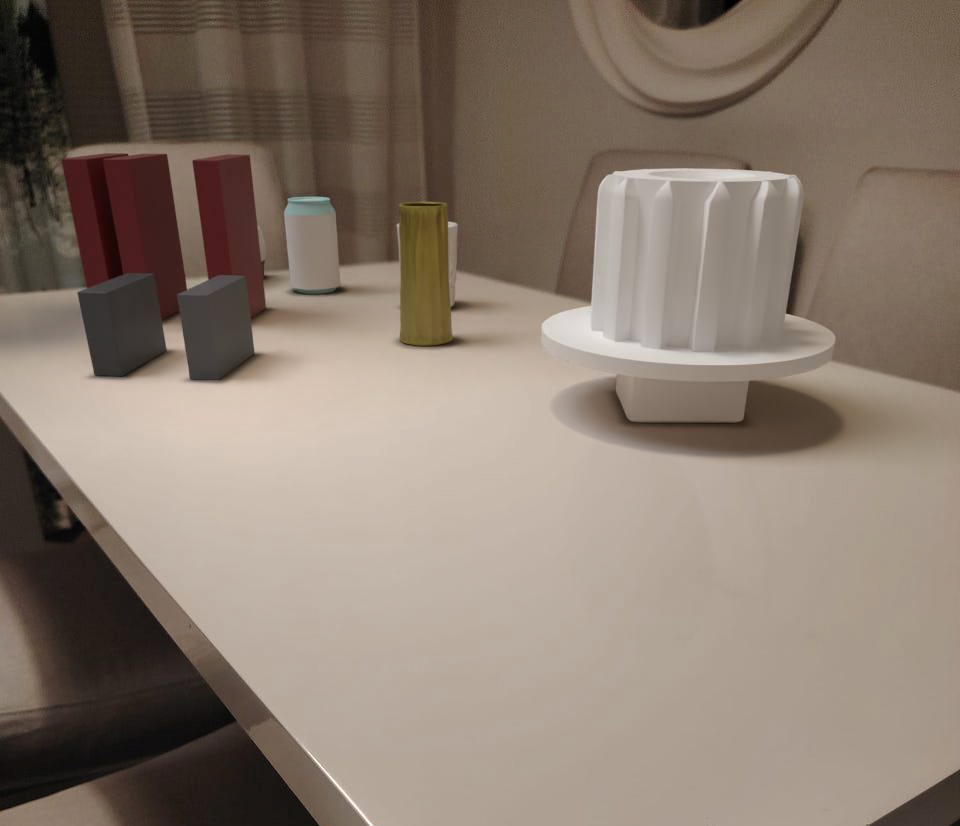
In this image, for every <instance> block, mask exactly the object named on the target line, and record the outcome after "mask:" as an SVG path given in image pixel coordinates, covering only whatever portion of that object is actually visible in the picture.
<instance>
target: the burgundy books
mask: <svg viewBox="0 0 960 826" xmlns="http://www.w3.org/2000/svg"><path fill="white" fill-rule="evenodd" d="M60 161H61V165H62V170H63V176H64V180H65V185H66V190H67V195H68V200H69V206H70V210H71V216H72V220H73V225H74V230H75V235H76V240H77V245H78V250H79V255H80V260H81V261H80V262H81V265H82V271H83V277H84V281H85V285H86V289H87V288H89V287H92V286H95V285H97V284H100V283H103V282H105V281H108V280H111V279H113V278H116V277H119V276H121V275H124V274H127V273H146V274H154V276H155V282H156V288H157V294H158V300H159V306H160V312H161V319H162V321H163V320H165V319H167V318H169V317H171V316H174V315H175V314H177V313H180V311H179V304H178V298H177V294H179V293H181V292H184V291H186V290H188V286H187V279H186V273H185V272H186V271H185V266H184V265H185V264H184V259H183V253H182V246H181V238H180V232H179V231H180V230H179V226H178V225H179V224H178V220H177V219H178V218H177V211H176V206H175V199H174V192H173V186H172V185H173V184H172V179H171V178H172V177H171V172H170V164H169V159H168V154H167V153H139V154H132V155H130V154H129V153H122V152H121V153H120V152H119V153H116V152H115V153H113V152H111V153H109V152H108V153H107V152H105V153H98V154H89V155H81V156H73V157H64V158H63V157H62V158H61V159H60Z"/></svg>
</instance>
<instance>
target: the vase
mask: <svg viewBox="0 0 960 826" xmlns="http://www.w3.org/2000/svg"><path fill="white" fill-rule="evenodd" d="M398 219H399V235H400V263H399V270H400V271H399V272H400V287H399V288H400V292H399V293H400V294H399V295H400V297H399V300H400V301H399V302H400V312H399V313H400V314H399V315H400V316H399V317H400V320H399V321H400V324H399V325H400V328H399V329H400V331H399V340H400V341H401V342H402V343H404V344H406V345H411V346H419V347H429V346H440V345H445V344H448V343H450V342H452V341H453V340H454V337H453V336H454V335H453V329H452V309H451V308H452V307H451V306H450V291H449V260H448V222H449V213H448V204H447V202H442V201H441V202H440V201H406V202H400V203H399V204H398Z"/></svg>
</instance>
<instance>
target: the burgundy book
mask: <svg viewBox="0 0 960 826" xmlns="http://www.w3.org/2000/svg"><path fill="white" fill-rule="evenodd" d="M191 163H192V168H193V169H192V170H193V176H194V183H195V191H196V198H197V206H198V214H199V219H200V220H199V221H200V226H201V227H200V228H201V233H202V234H201V235H202V243H203V251H204V257H205V264H206V272H207V280H209V279H211V278H214V277H216V276H218V275H234V276H246V284H247V292H248V301H249V309H250V318H253V317H255V316H256V315H258V314H260V313H261V312H263V311H264V310H266V309H267V302H266V301H267V300H266V292H265V284H264V277H263V273H262V264H261V255H260V246H259V236H258V227H257V224H258V219H257V209H256V201H255V192H254V191H255V190H254V182H253V181H254V180H253V172H252V163H251V155H250V154H231V153H230V154H229V153H228V154H221V155H215V156H209V157H203V158H196V159H192V162H191Z"/></svg>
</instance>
